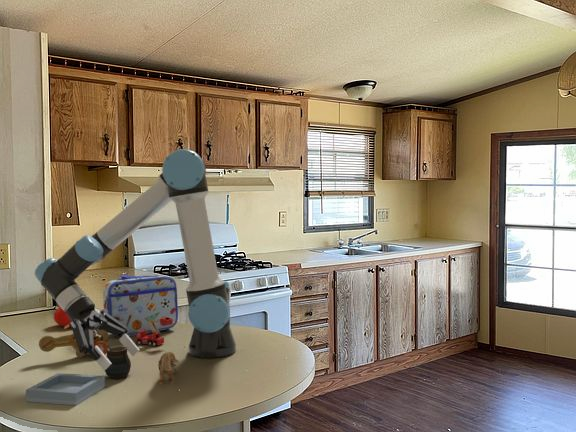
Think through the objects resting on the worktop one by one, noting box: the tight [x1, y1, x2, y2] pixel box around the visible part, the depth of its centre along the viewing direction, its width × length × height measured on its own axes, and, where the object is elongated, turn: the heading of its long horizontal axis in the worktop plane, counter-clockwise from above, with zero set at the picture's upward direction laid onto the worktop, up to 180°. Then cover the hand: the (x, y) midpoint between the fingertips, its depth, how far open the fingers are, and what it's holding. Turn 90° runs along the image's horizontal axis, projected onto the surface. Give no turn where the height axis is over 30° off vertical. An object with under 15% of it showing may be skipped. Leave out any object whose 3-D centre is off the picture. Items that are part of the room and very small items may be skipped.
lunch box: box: [102, 274, 179, 337], centre depth 206 cm, size 28×10×22 cm, turn 122°
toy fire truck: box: [135, 317, 173, 347], centre depth 190 cm, size 3×14×10 cm, turn 68°
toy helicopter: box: [38, 325, 109, 358], centre depth 175 cm, size 8×21×14 cm, turn 122°
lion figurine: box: [157, 351, 179, 385], centre depth 154 cm, size 15×5×9 cm, turn 14°
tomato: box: [53, 306, 72, 328], centre depth 219 cm, size 13×12×8 cm
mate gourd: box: [104, 344, 132, 380], centre depth 156 cm, size 7×8×10 cm
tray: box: [25, 372, 106, 406], centre depth 143 cm, size 14×13×3 cm
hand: (122, 359), depth 156 cm, fingers open, 13 cm apart
